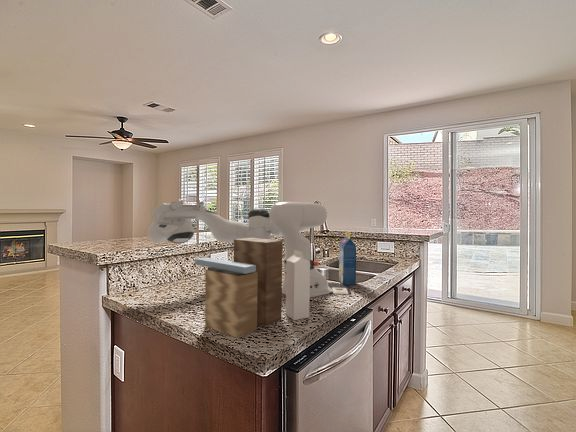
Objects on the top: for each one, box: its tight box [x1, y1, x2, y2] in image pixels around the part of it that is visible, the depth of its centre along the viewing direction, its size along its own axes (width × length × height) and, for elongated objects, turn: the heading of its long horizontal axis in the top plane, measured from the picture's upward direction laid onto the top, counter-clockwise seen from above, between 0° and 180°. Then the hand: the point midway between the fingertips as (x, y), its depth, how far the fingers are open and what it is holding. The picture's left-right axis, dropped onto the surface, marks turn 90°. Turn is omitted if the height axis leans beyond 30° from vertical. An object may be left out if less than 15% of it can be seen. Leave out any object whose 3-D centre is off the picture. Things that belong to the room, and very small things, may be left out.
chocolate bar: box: [327, 282, 352, 295], centre depth 142 cm, size 9×1×18 cm
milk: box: [285, 250, 311, 321], centre depth 106 cm, size 6×6×22 cm
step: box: [204, 267, 258, 339], centre depth 95 cm, size 14×8×18 cm, turn 55°
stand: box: [233, 238, 283, 328], centre depth 103 cm, size 14×8×26 cm, turn 55°
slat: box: [194, 256, 256, 274], centre depth 96 cm, size 22×4×2 cm, turn 55°
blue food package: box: [338, 231, 357, 285], centre depth 153 cm, size 6×12×25 cm, turn 0°
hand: (192, 201), depth 119 cm, fingers open, 8 cm apart
